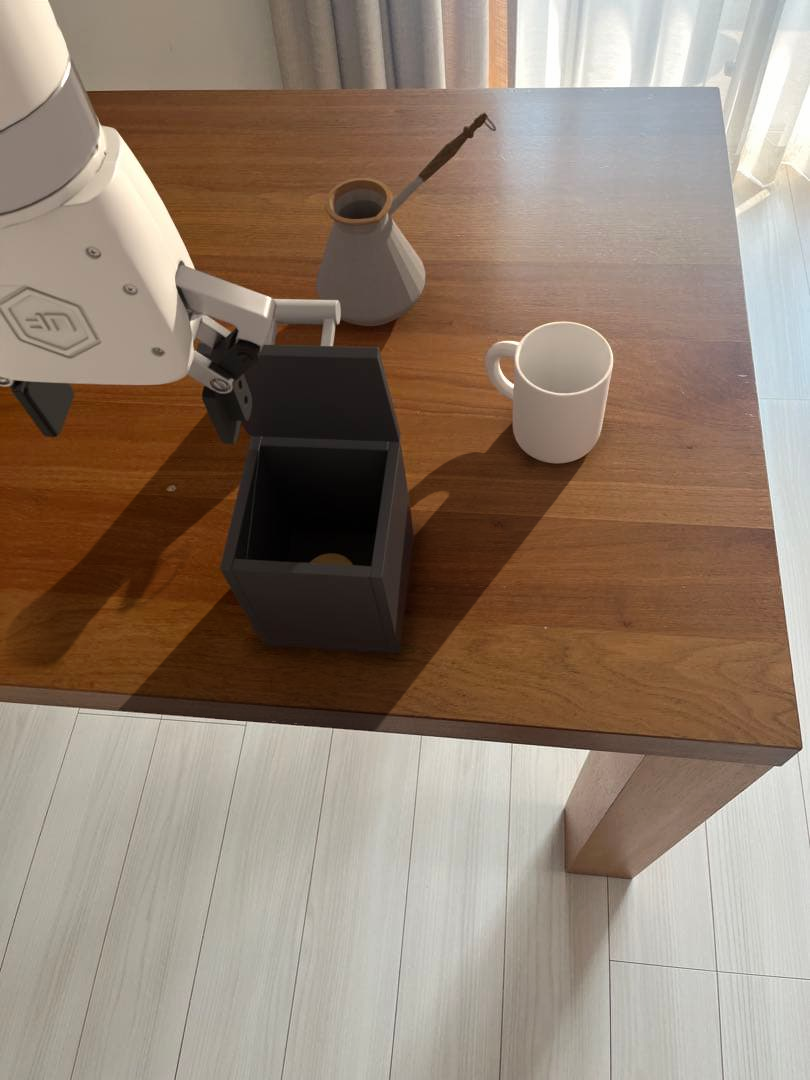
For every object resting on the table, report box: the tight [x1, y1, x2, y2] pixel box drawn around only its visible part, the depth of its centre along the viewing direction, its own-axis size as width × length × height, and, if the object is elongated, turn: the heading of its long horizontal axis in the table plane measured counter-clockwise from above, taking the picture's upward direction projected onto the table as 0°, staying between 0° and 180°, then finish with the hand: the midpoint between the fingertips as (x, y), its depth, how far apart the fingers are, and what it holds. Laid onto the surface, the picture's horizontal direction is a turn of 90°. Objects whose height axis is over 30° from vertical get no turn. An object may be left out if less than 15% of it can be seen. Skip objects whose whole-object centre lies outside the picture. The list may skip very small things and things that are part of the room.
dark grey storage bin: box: [219, 436, 415, 655], centre depth 71 cm, size 12×12×14 cm
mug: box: [484, 321, 614, 464], centre depth 80 cm, size 12×8×10 cm
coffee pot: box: [315, 112, 497, 327], centre depth 89 cm, size 21×12×15 cm, turn 124°
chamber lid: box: [196, 298, 401, 442], centre depth 63 cm, size 13×12×5 cm
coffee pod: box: [310, 553, 353, 565], centre depth 74 cm, size 4×4×4 cm
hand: (147, 418), depth 47 cm, fingers open, 9 cm apart
